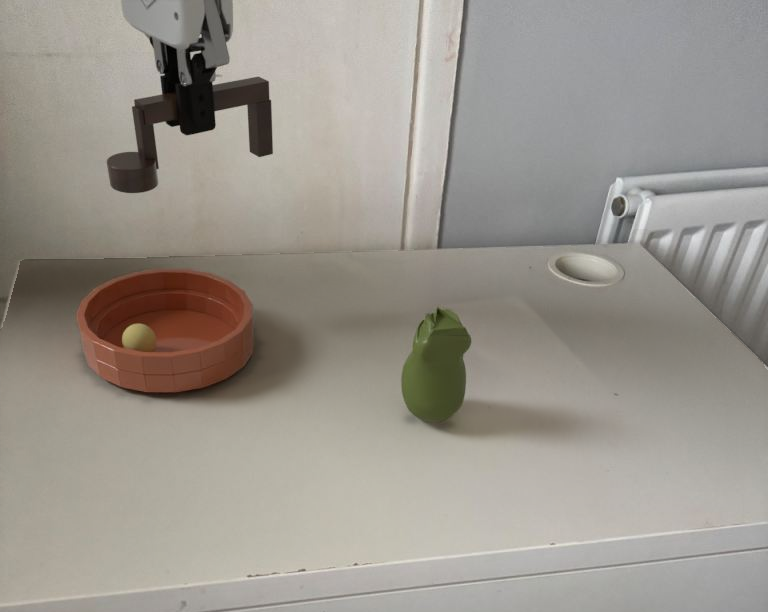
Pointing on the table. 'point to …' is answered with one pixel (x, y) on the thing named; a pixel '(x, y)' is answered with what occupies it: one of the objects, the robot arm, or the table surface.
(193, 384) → the bowl
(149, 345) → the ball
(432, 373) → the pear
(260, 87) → the ladle
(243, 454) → the table surface
